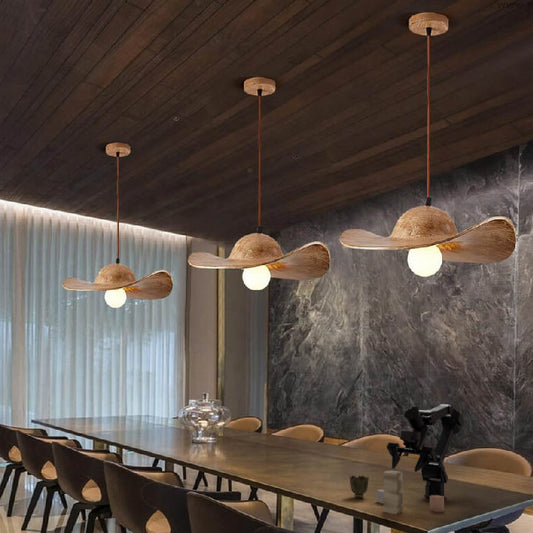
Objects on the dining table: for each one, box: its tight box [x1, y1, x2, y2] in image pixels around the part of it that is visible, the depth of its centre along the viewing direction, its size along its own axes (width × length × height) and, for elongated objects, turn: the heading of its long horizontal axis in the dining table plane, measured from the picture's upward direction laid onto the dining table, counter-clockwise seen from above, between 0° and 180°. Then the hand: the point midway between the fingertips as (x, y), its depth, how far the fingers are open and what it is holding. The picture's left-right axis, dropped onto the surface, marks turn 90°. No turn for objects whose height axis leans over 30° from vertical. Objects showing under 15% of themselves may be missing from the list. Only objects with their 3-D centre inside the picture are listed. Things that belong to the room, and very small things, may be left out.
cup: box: [349, 475, 369, 499], centre depth 279 cm, size 8×7×8 cm
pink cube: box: [429, 495, 445, 513], centre depth 260 cm, size 5×5×5 cm
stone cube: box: [376, 489, 383, 504], centre depth 272 cm, size 4×4×4 cm
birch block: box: [382, 470, 404, 515], centre depth 257 cm, size 5×5×14 cm
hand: (403, 469), depth 264 cm, fingers open, 9 cm apart
